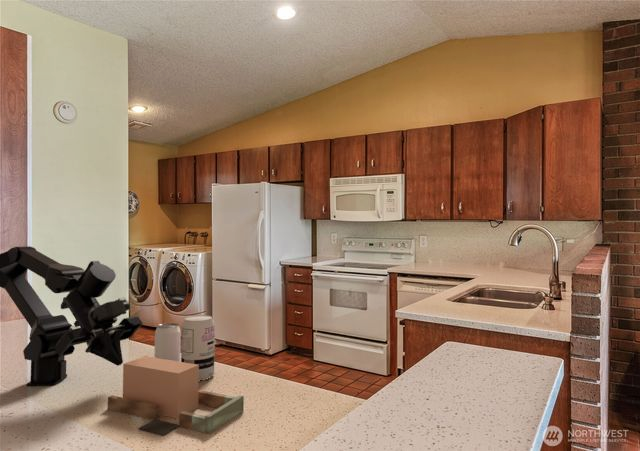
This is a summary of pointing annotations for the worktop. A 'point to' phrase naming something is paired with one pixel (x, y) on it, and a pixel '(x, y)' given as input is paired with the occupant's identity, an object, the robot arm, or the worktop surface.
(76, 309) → the robot arm
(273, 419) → the worktop surface
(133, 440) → the worktop surface
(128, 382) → the brick
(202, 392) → the lane
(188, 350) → the supplement can
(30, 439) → the worktop surface
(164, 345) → the can
